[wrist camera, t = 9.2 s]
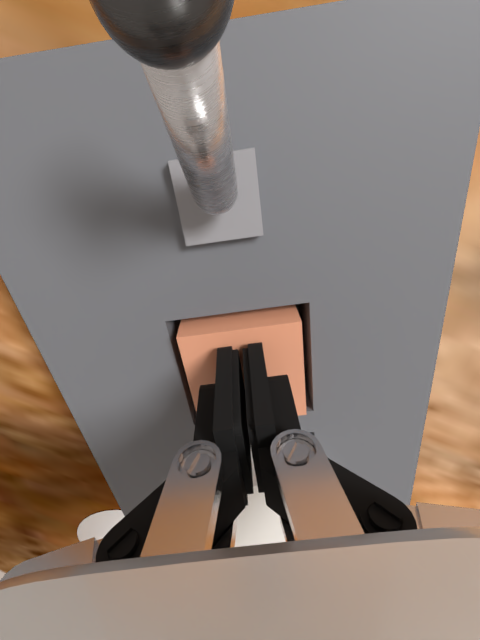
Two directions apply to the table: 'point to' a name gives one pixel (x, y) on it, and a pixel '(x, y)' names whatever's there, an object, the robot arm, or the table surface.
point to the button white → (258, 520)
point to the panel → (323, 220)
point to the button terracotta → (245, 346)
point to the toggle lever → (184, 84)
